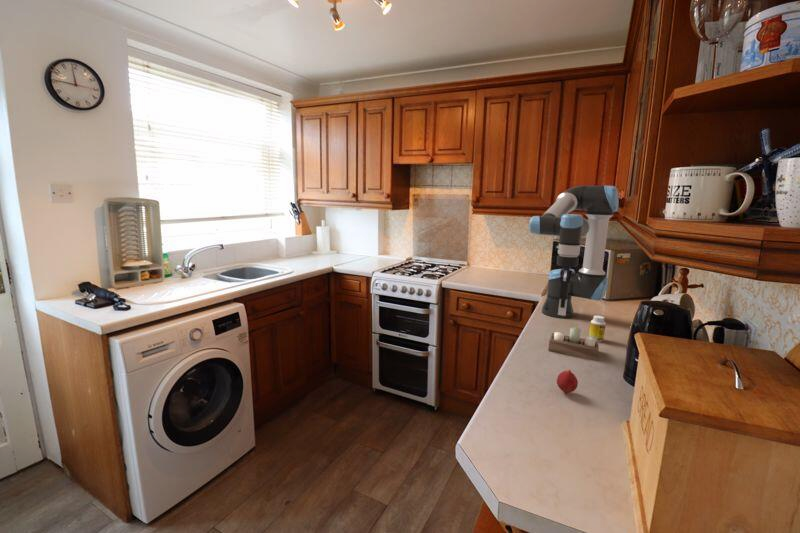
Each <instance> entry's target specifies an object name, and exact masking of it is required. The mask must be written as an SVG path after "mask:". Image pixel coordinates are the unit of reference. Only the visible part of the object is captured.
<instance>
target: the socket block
mask: <svg viewBox="0 0 800 533" xmlns="http://www.w3.org/2000/svg"><path fill="white" fill-rule="evenodd" d="M554 333H555V332H554ZM554 333H553V332H552V333H551V335H550V338H549V341H548V349H547V350H548V351H549V352H552V353H559V354H563V355H568V356H573V357H578V358H582V359H588V360H593V361H598V357H599V349H600V348H599V345H600V344H599V343H600V342H599V341H595V347H592V346H587V345H584V343H585V338H581V337H580V339H579V343H578V344H576V343H571V342H569V336H570V335H565V334H564V341H560V340H554Z"/></svg>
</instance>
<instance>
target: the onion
mask: <svg viewBox="0 0 800 533" xmlns="http://www.w3.org/2000/svg"><path fill="white" fill-rule="evenodd" d="M556 384H557V387H558V388H559V389H560V390H561V391H562V393H564V394H565V395H567V394H570V393H573V392H574V391H575V390H577V388H578V384H579V381H578V379H577V376H576V375H575V374H574V373H573V372H572V370H571V369H569V368H568V369H567V370H564V371H562V372H560V373H559V374H558V375H557V378H556Z"/></svg>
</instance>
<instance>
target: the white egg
mask: <svg viewBox="0 0 800 533" xmlns="http://www.w3.org/2000/svg"><path fill="white" fill-rule="evenodd" d="M584 339H585V343H584V345H587V346H592V347H595V341H596V340H595V339H594V338H590V337H589V336H587V337H585V338H584Z"/></svg>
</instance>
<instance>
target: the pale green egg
mask: <svg viewBox="0 0 800 533" xmlns="http://www.w3.org/2000/svg"><path fill="white" fill-rule="evenodd" d="M568 336H569V342H571V343H576V344H578V343H579V339H580V338H581V337H580V336H581V328H579V327H574V326H573V327H570V330H569V335H568Z"/></svg>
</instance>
